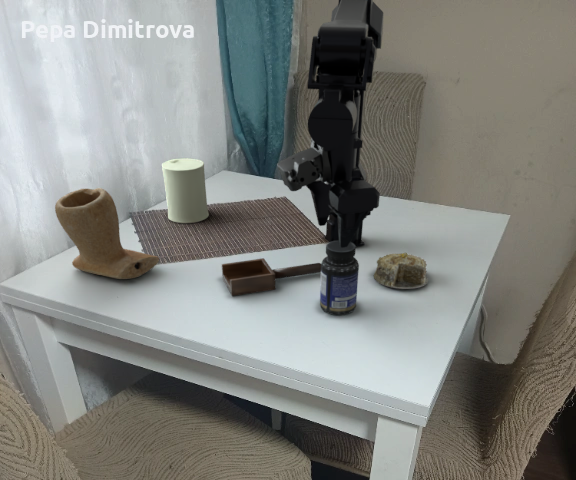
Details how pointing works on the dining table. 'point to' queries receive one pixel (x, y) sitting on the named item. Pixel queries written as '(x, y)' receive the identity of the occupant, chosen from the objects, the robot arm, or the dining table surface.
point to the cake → (401, 271)
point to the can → (185, 190)
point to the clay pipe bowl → (99, 235)
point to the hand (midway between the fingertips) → (332, 235)
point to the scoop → (259, 275)
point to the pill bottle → (339, 279)
